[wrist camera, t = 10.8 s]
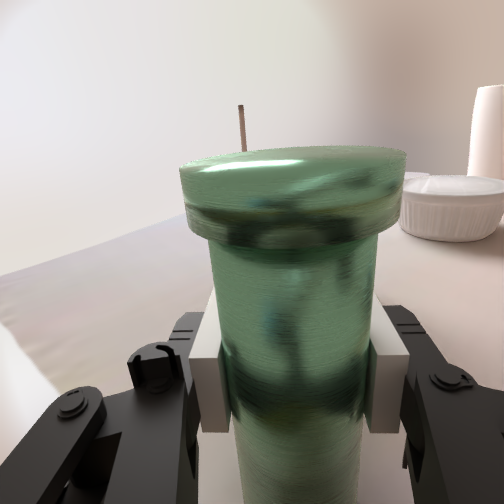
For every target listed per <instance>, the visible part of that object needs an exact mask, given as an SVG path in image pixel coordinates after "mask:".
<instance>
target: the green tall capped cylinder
mask: <svg viewBox="0 0 504 504" xmlns="http://www.w3.org/2000/svg"><path fill="white" fill-rule="evenodd" d="M405 165H406V153H405V152H403V151H401V150H396V149H392V148H384V147H372V146H310V147H291V148H279V149H278V148H277V149H267V150H257V151H247V152H239V153H233V154H226V155H220V156H214V157H209V158H205V159H200V160H196V161H193V162H190V163H187V164H185V165H183V166H181V167H180V168H179V172H180V178H181V184H182V190H183V196H184V203H185V209H186V215H187V222H188V226H189V228H190V229H191V230H192V231H193V232H194V233H195V234H197V235H199V236H201V237H203V238H205V239H208V243H209V250H210V258H211V265H212V272H213V280H214V287H215V294H216V301H217V309H218V316H219V323H220V330H221V338H222V345H223V352H224V360H225V367H226V374H227V381H228V389H229V396H230V403H231V410H232V418H233V425H234V432H235V439H236V447H237V454H238V461H239V469H240V476H241V483H242V490H243V498H244V504H356V500H357V487H358V475H359V463H360V450H361V438H362V426H363V413H364V401H365V389H366V376H367V364H368V352H369V339H370V327H371V315H372V302H373V290H374V278H375V265H376V253H377V240H378V233H380V232H382V231H384V230H386V229H388V228H390V227H391V226H393V225H394V224H395V223H396V222H397V221H398V219H399V217H400V212H401V203H402V193H403V184H404V175H405Z"/></svg>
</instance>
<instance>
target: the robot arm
mask: <svg viewBox="0 0 504 504" xmlns="http://www.w3.org/2000/svg"><path fill="white" fill-rule="evenodd" d="M127 365H128V368H129V372H130V375H131V379H132V382H133V386H134V388H133V389H131V390H128V391H126V392H122V393H119V394H115V395H111V396H107V397H103V396H102V393H101V392H100V391H99V390H98V389H97V388H95V387H91V386H85V387H78V388H76V389H73V390H70V391H68V392H66V393H65V394H63V395H61V396H60V397H58V398H57V399H56V400H55V401H54V402H53V403H52V404H51V405H50V406H49V407H48V408H47V409H46V411H45V412H44V413H43V414H42V416H41V417H40V418H39V419H38V420H37V422H36V423H35V424H34V425H33V426H32V428H31V429H30V430H29V431H28V433H27V434H26V435H25V436H24V437H23V439H22V440H21V441H20V442H19V444H18V445H17V446H16V447H15V448H14V450H13V451H12V452H11V453H10V455H9V456H8V457H7V458H6V460H5V461H4V462H3V463H2V465H1V466H0V504H198V463H199V446H198V441H197V436H196V435H197V431H198V427H199V423H200V422H201V427H202V432H226V433H228V431H229V424H230V417H231V403H230V396H229V389H228V381H227V374H226V367H225V360H224V352H223V345H222V338H221V330H220V323H219V316H218V309H217V301H216V294H215V287H213V290H212V293H211V295H210V298H209V301H208V304H207V307H206V310H205V312H188V313H185V314H184V315H183V316H182V317H181V318H180V319H179V320H178V321H177V322H176V324H175V326H174V329H173V332H172V333H171V335H170V337H169V340H168V341H167V342H156V343H152V344H148V345H146V346H144V347H142V348H140V349H138V350H137V351H136V352H135V353H133V354H132V355H131V357H130V358H129V360H128V362H127ZM364 414H365V417H366V421H367V424H368V427H369V431H370V433H399V426H400V419H401V421H402V423H403V426H404V428H405V430H406V433H407V437H406V443H405V449H404V456H403V464H402V468H404V469H407V465H408V467H409V473H410V479H411V485H412V491H413V497H414V503H415V504H504V391H499V390H495V389H490V388H487V387H483V386H480V385H478V384H477V382H476V381H475V380H474V378H473V377H472V376H471V375H469V374H468V373H467V372H465V371H464V370H463V369H461V368H459V367H456V366H454V365H452V364H448V362H447V361H446V360H445V358H444V357H443V355H442V354H441V353H440V351H439V350H438V348H437V347H436V345H435V344H434V343H433V341H432V340H431V338H430V337H429V335H428V334H426V331H425V330H424V328H423V327H422V325H421V326H420V323H419V321H418V320H417V318H416V317H415V315H414V314H413V313H412V312H410V311H409V310H407V309H406V308H404V307H403V306H401V305H395V306H382V305H381V303H380V301H379V299H378V298H377V296H376V294H375V292H374V291H373V302H372V315H371V327H370V339H369V352H368V364H367V376H366V389H365V401H364Z"/></svg>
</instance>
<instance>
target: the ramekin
mask: <svg viewBox="0 0 504 504" xmlns="http://www.w3.org/2000/svg"><path fill="white" fill-rule="evenodd" d="M503 213H504V180H499V179H493V178H487V177H478V176H461V175H435V176H422V177H414V178H409V179H404V184H403V193H402V203H401V212H400V217H399V219H398V223H399V225H400V226H401V228H402V229H403V230H404V231H405V232H407V233H409V234H411V235H413V236H416V237H420V238H424V239H429V240H436V241H447V242H469V241H476V240H480V239H483V238H486V237H487V236H489V235H490V234H492V233H493V232H494V231H495V230H496V228H497V226H498V224H499V222H500V220H501V218H502V216H503Z"/></svg>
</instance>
